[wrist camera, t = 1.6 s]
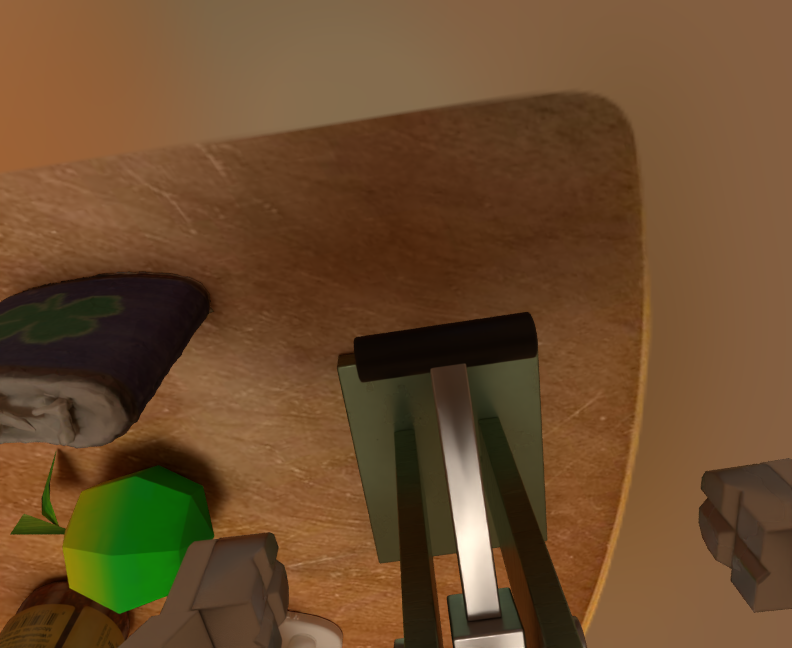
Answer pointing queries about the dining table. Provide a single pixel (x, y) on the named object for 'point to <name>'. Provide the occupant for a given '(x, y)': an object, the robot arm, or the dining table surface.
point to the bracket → (428, 497)
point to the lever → (460, 453)
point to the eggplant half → (91, 353)
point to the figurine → (309, 632)
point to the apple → (127, 535)
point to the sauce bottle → (64, 621)
